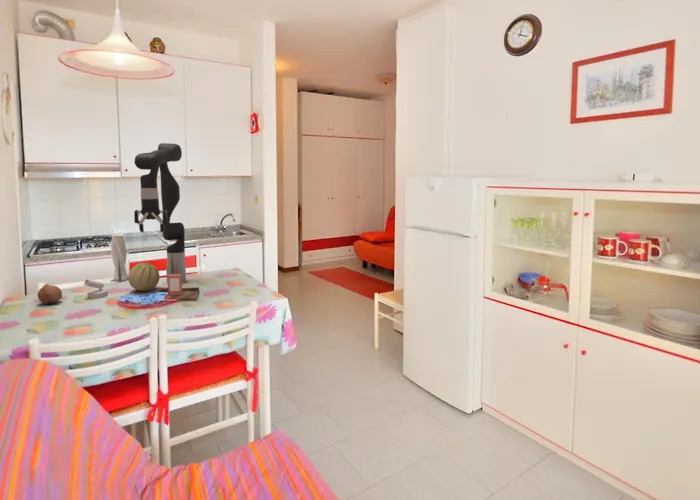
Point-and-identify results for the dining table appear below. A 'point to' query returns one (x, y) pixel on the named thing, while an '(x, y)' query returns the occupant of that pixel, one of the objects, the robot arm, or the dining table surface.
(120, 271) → the skyscraper
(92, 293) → the security camera
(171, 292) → the picture frame
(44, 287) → the brown round lump
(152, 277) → the cantaloupe
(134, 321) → the dining table surface
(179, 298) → the display ledge
